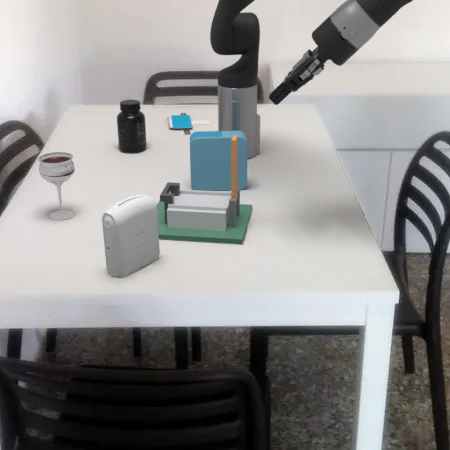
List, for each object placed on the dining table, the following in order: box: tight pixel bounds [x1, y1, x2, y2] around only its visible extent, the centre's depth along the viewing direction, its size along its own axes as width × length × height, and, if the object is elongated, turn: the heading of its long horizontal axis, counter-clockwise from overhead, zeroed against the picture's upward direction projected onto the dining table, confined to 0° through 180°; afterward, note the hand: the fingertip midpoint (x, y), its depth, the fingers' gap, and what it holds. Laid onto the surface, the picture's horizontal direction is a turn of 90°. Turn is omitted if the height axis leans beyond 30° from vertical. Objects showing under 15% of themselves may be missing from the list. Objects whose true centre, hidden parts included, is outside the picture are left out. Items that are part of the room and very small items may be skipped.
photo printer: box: [101, 194, 161, 278], centre depth 122 cm, size 10×4×12 cm, turn 140°
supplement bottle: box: [116, 99, 147, 154], centre depth 178 cm, size 7×7×12 cm
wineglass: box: [37, 151, 76, 221], centre depth 141 cm, size 7×7×12 cm
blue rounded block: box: [189, 130, 248, 192], centre depth 154 cm, size 12×4×12 cm, turn 93°
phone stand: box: [166, 112, 211, 135], centre depth 200 cm, size 20×12×2 cm, turn 6°
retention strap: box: [230, 135, 239, 203], centre depth 134 cm, size 1×3×13 cm, turn 171°
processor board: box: [156, 182, 253, 245], centre depth 139 cm, size 19×16×7 cm
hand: (272, 100), depth 129 cm, fingers closed
